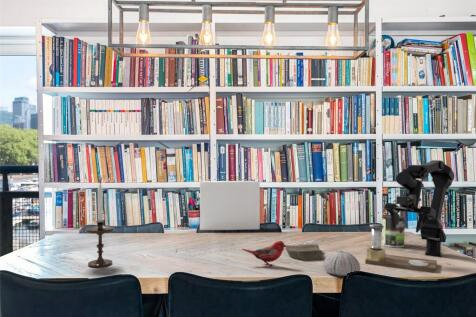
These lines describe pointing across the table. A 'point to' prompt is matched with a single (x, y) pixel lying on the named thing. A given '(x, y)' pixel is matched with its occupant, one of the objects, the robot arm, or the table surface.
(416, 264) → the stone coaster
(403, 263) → the walnut board
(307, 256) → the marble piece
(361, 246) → the table surface
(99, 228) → the candlestick
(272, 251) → the decorative bird figurine
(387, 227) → the coffee can
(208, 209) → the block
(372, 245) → the silver flared column
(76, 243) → the table surface
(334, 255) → the sea urchin shell
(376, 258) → the brass collar
